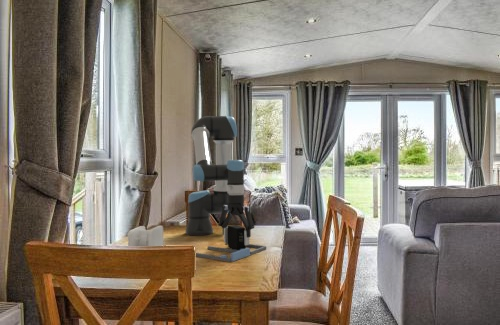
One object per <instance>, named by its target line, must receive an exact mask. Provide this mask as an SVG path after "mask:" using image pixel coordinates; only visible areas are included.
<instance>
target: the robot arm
mask: <svg viewBox="0 0 500 325" xmlns="http://www.w3.org/2000/svg"><path fill="white" fill-rule="evenodd" d="M237 127H238V126H237V123H236V119H235V118H234V117H233V116H230V115H229V116H228V115H204V116H202V117H200V118H198V119H197V120H196V121H195V122H194V124H192V128H191V133H190V134H191V138H192V141H193V144H194V156H195V163H196V164H194V165H193V166H192V179H193V181H196V182H212V181H213V182H214V181H215V187H214V188H213V191H212V192H210V190H208V189H206V190H200V191H194V192H191V193H189V194H188V198H187V199H188V200H187V202H188V222H187V224H186V228H185V234H186V236H187V235H188V236H197V237H198V236H208V235H213V234H214V228H213V224H212V222H211V216H210V215H211V214H212V215H214V214H215V215H216V214H220V219H219V223H218V227H221V228H222V235H223V243H226V242H228V226H229V224H230V221H231V220H232V217H233V216H238V217H239V219H240V221H241V222H242V224H243V227H244V228H245V230H244V243H245V245H249V244H250V238H251V236H252V234H251V232H252V231H251V230H252V229H255V224H254V220H253V218H252V213H251V207H250V206H245V195H244V194H245V185H244V184H245V180H244V179H245V177H244V176H245V174H244V173H245V171H244V170H245V166H244V161H243V159H242V160H241V159H232V144H233V143H234V141H235V138H237V137H238V128H237ZM210 138H212V142H214V143H215V164H213V162H212V154H211V148H210V141H209V139H210Z"/></svg>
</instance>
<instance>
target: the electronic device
mask: <svg viewBox="0 0 500 325" xmlns="http://www.w3.org/2000/svg"><path fill="white" fill-rule="evenodd" d="M244 230H246V229H245V227H244V226H241V225H238V224H233V225H228V244H227V247H228V249H234V250H240V249H246V248H247V247H246V246H245V243H244Z"/></svg>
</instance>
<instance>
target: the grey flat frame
mask: <svg viewBox="0 0 500 325" xmlns="http://www.w3.org/2000/svg"><path fill="white" fill-rule="evenodd" d="M225 245H228V242H226V243H225ZM245 246H246V249H240V250H234V249H230V248H225V247H218V246H212V245H211V246H210V245H208V246H207V250H211V251H212V250H213V251H219V252H224V253H230V257H228V255H227V254H221V255H212V254H206V253H200V252H195V253H196V256H195V257H197V258H203V259H211V260H215V261H222V262H223V261H224V262H229V263H230V262H235V261H237V260H240V259H241V260H242V259H244V258H247V257H249V256H252V255H255V254H256V253H260V252H263V251H266V250H267V246H266V245H260V244H253V243H249V245H245ZM251 248H255V249H254V250H253V249H252V250H251Z"/></svg>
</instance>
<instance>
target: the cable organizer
mask: <svg viewBox="0 0 500 325" xmlns="http://www.w3.org/2000/svg"><path fill="white" fill-rule="evenodd" d="M126 235H127V247H128V246H162V245H163V246H164V226H163V225H156V226H154V227H153V228H150V229H146V227H145V225H139V226H137V227H135V228H133V229H130V230H129V231H128V233H127V234H126Z"/></svg>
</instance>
